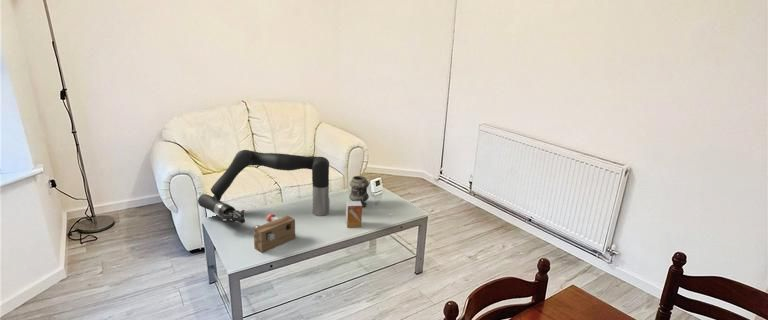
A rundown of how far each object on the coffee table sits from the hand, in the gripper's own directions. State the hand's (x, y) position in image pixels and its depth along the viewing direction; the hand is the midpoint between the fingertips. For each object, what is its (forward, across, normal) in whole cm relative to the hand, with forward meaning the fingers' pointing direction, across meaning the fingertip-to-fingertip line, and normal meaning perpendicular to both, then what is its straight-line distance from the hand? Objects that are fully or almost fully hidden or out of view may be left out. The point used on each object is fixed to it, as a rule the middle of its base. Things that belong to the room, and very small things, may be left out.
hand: (243, 221), depth 212 cm
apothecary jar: (+15, +70, +8) cm, 72 cm away
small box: (+31, +48, +8) cm, 58 cm away
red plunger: (+12, +12, +2) cm, 17 cm away
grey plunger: (+18, 0, +2) cm, 18 cm away
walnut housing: (+18, +6, +8) cm, 20 cm away
